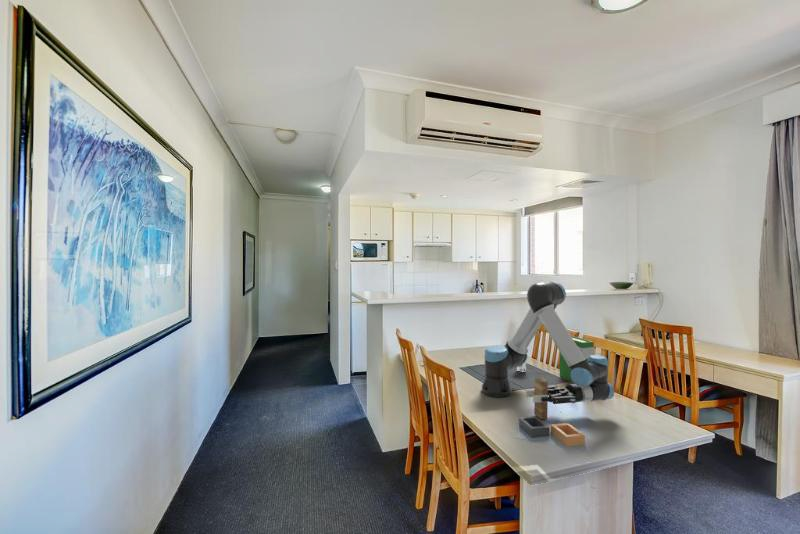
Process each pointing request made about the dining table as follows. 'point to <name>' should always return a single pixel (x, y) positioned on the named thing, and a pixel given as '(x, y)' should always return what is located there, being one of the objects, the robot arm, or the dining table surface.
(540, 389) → the oak slat
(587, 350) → the hardback book
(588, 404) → the dining table surface
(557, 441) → the board
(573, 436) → the orange open box
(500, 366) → the robot arm
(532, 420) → the grey open box
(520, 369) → the beer glass
